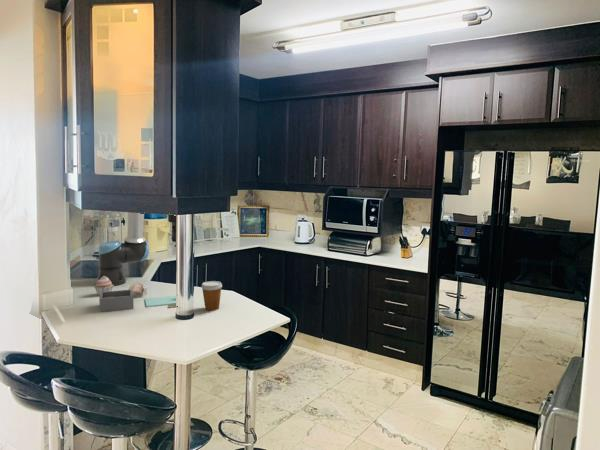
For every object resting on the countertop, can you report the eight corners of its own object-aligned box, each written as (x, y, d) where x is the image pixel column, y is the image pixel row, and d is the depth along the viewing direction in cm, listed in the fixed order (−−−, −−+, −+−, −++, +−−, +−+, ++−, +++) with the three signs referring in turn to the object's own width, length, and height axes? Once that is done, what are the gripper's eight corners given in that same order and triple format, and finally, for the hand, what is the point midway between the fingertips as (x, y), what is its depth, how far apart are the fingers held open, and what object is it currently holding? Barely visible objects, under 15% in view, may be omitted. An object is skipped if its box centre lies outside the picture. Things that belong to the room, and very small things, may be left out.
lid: (144, 300, 221) (144, 290, 220) (186, 296, 228) (186, 287, 227) (146, 308, 209) (146, 297, 208) (190, 303, 216) (190, 293, 215)
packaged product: (144, 290, 224) (123, 292, 222) (145, 300, 225) (123, 301, 222) (147, 281, 241) (127, 283, 239) (147, 290, 242) (127, 292, 239)
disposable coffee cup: (216, 312, 204) (215, 286, 203) (197, 310, 207) (197, 284, 206) (226, 306, 213) (225, 281, 212) (208, 304, 216) (207, 280, 215)
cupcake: (95, 298, 225) (94, 278, 224) (93, 294, 234) (92, 275, 232) (115, 296, 230) (114, 276, 229) (113, 291, 238) (112, 273, 237)
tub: (101, 306, 212) (100, 292, 211) (132, 303, 217) (132, 289, 216) (100, 314, 201) (99, 299, 200) (133, 310, 206) (133, 295, 205)
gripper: (165, 211, 227) (166, 252, 229) (171, 216, 204) (172, 263, 207) (180, 210, 229) (181, 252, 232) (188, 216, 207) (189, 262, 209)
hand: (177, 257), depth 219 cm, fingers open, 13 cm apart
